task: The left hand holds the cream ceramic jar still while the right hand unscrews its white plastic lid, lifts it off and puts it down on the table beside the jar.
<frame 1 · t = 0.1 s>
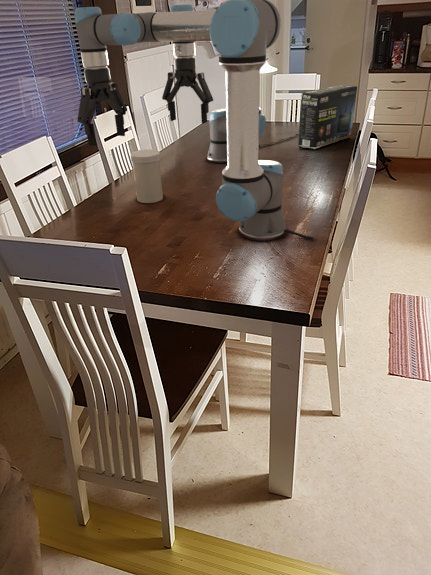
left hand: (188, 121, 169), 28 cm above the table, tool pointing down, fingers open, 13 cm apart
right hand: (107, 140, 148), 28 cm above the table, tool pointing down, fingers open, 13 cm apart
jar: (150, 198, 181), on the table
lid: (145, 154, 172), point 17 cm above the table, screwed on, not yet turned
router box: (325, 143, 245), on the table
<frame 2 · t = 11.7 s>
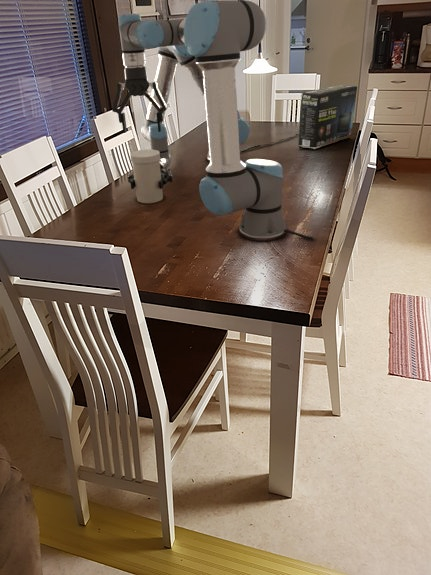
left hand: (146, 185, 174), 7 cm above the table, tool horizontal, fingers closed on jar, 10 cm apart
right hand: (142, 131, 168), 26 cm above the table, tool pointing down, fingers open, 12 cm apart
jar: (150, 198, 181), on the table, touching left hand
everything else where it was.
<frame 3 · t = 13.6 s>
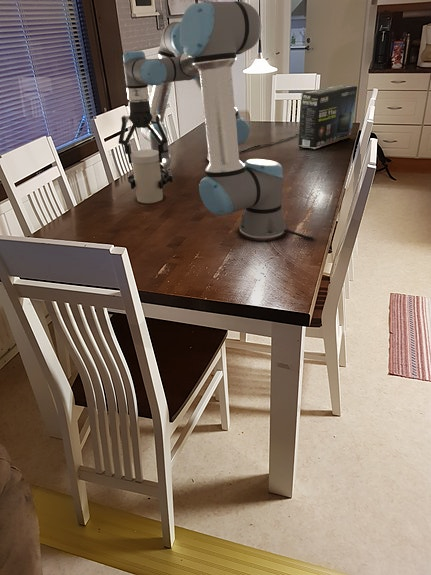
left hand: (146, 185, 174), 7 cm above the table, tool horizontal, fingers closed on jar, 10 cm apart
right hand: (145, 162, 174), 14 cm above the table, tool pointing down, fingers closed on lid, 11 cm apart
jar: (150, 198, 181), on the table, touching left hand
lid: (145, 154, 172), point 17 cm above the table, screwed on, not yet turned, touching right hand
everything else where it was.
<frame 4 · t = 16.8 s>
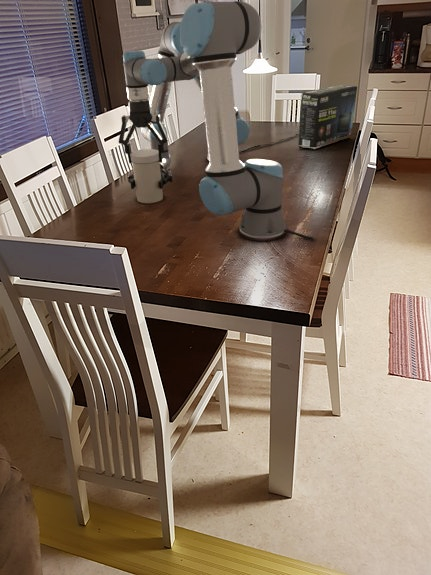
left hand: (146, 185, 174), 7 cm above the table, tool horizontal, fingers closed on jar, 10 cm apart
right hand: (145, 161, 173), 15 cm above the table, tool pointing down, fingers closed on lid, 11 cm apart
jar: (150, 198, 181), on the table, touching left hand
lid: (145, 153, 172), point 18 cm above the table, turned 92° so far, risen 0.1 cm, still on its thread, touching right hand
everything else where it was.
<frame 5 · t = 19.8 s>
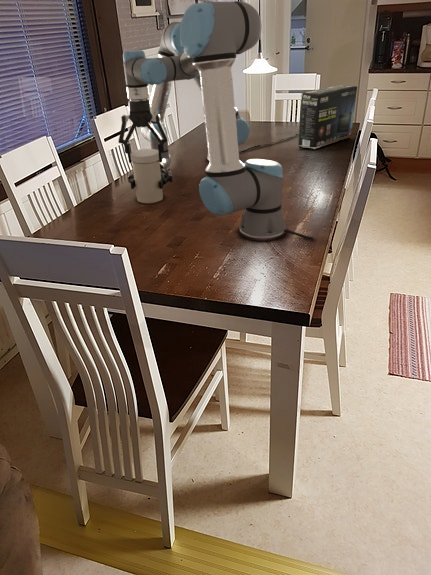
left hand: (146, 185, 174), 7 cm above the table, tool horizontal, fingers closed on jar, 10 cm apart
right hand: (145, 161, 173), 15 cm above the table, tool pointing down, fingers closed on lid, 11 cm apart
jar: (150, 198, 181), on the table, touching left hand
lid: (144, 153, 172), point 18 cm above the table, turned 184° so far, risen 0.3 cm, still on its thread, touching right hand
everything else where it was.
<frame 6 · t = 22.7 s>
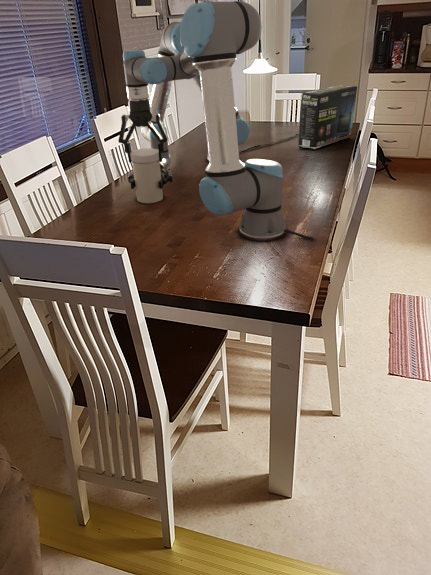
left hand: (146, 185, 174), 7 cm above the table, tool horizontal, fingers closed on jar, 10 cm apart
right hand: (145, 161, 173), 15 cm above the table, tool pointing down, fingers closed on lid, 11 cm apart
jar: (150, 198, 181), on the table, touching left hand
lid: (144, 153, 172), point 18 cm above the table, turned 276° so far, risen 0.4 cm, still on its thread, touching right hand
everything else where it was.
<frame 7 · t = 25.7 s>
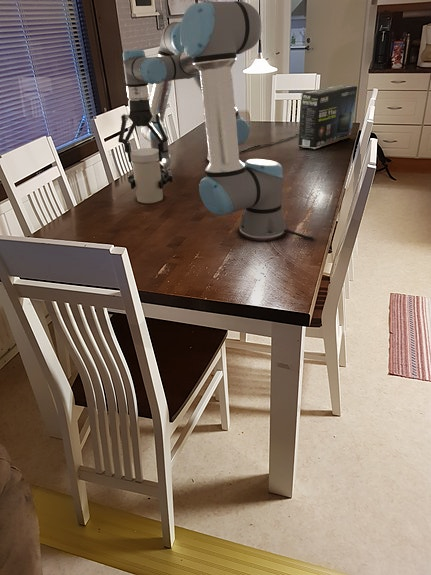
left hand: (146, 185, 174), 7 cm above the table, tool horizontal, fingers closed on jar, 10 cm apart
right hand: (145, 160, 173), 15 cm above the table, tool pointing down, fingers closed on lid, 11 cm apart
jar: (150, 198, 181), on the table, touching left hand
lid: (144, 152, 172), point 18 cm above the table, turned 368° so far, risen 0.5 cm, still on its thread, touching right hand
everything else where it was.
when the right hand's fingers open (0 cm above the table, at t = 35.7 s): lid drops 1 cm, point 2 cm above the table.
when the left hand's fingers open (7 cm above the table, at t = 36.8 s): jar stays where it is, on the table.
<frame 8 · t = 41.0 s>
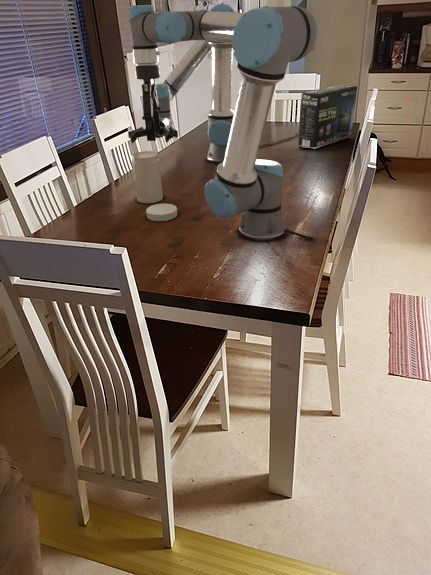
left hand: (149, 139, 178), 21 cm above the table, tool horizontal, fingers open, 13 cm apart
right hand: (154, 135, 151), 28 cm above the table, tool pointing down, fingers open, 13 cm apart
jar: (150, 198, 181), on the table
lid: (161, 209, 164), point 2 cm above the table, off its thread
everything else where it was.
at the end: lid came off its thread; lid point 2.0 cm above the table; the left hand is holding nothing; the right hand is holding nothing; jar tilted 0°; jar moved 0.1 cm from its start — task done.
